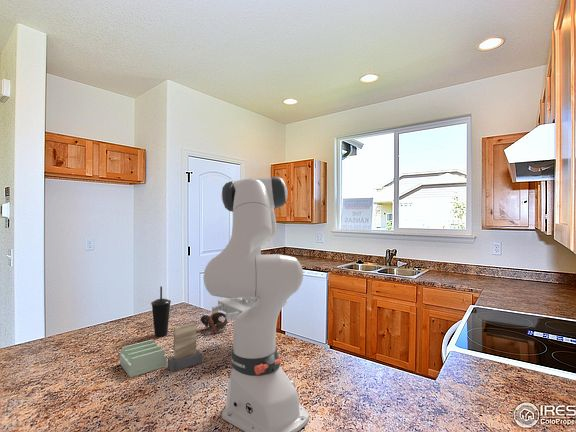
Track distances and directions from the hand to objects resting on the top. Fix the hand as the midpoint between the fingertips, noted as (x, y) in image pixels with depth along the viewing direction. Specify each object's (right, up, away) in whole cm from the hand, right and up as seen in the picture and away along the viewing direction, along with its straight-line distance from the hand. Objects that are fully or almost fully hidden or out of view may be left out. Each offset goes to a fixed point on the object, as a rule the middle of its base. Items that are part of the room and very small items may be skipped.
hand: (219, 313), depth 112 cm
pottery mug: (-8, -15, +24) cm, 29 cm away
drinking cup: (-28, -15, +17) cm, 36 cm away
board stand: (-9, -14, -9) cm, 19 cm away
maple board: (-9, -14, -9) cm, 19 cm away
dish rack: (-23, -14, -9) cm, 29 cm away
